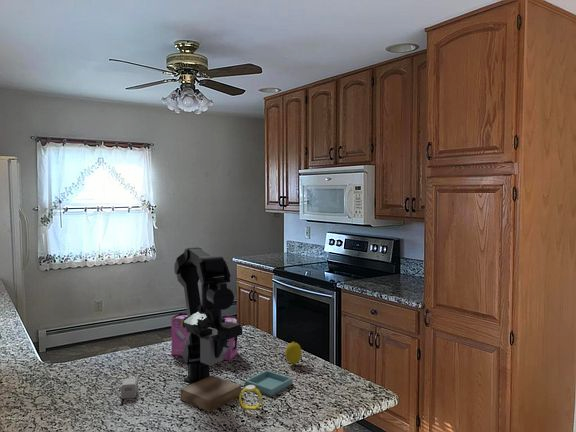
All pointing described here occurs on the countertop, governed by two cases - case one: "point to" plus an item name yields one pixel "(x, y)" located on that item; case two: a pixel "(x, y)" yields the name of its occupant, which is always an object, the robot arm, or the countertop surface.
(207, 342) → the plug block
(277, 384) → the teal tray
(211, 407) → the walnut dock
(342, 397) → the countertop surface
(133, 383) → the usb wall charger
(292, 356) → the lemon
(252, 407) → the watch
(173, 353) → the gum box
